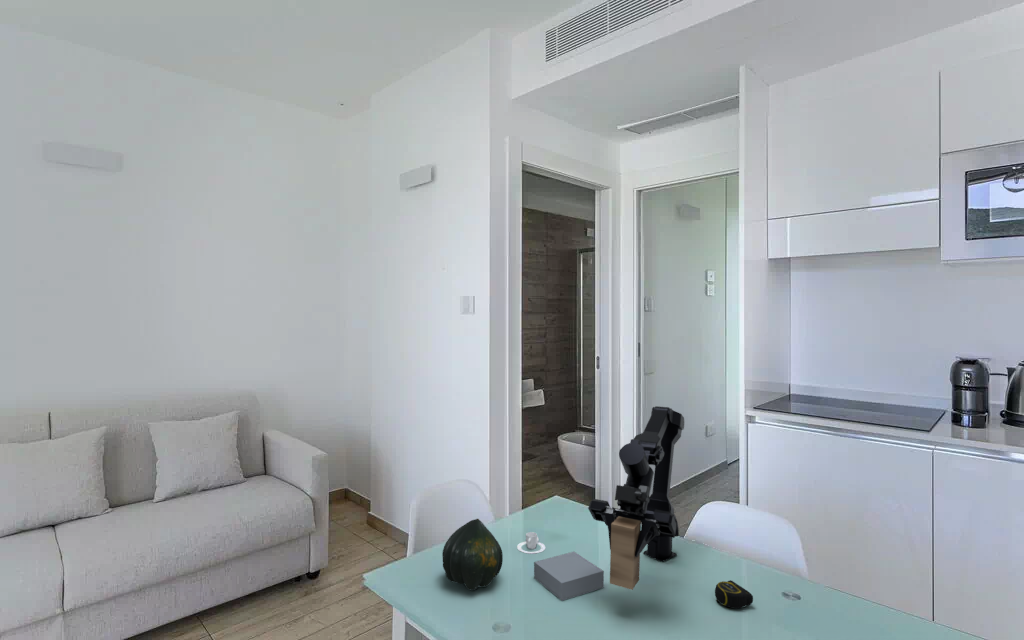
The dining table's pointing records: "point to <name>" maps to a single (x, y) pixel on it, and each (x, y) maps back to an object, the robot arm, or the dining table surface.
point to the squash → (472, 556)
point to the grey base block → (568, 575)
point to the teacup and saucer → (531, 543)
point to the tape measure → (732, 595)
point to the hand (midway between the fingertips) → (623, 553)
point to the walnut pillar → (624, 552)
